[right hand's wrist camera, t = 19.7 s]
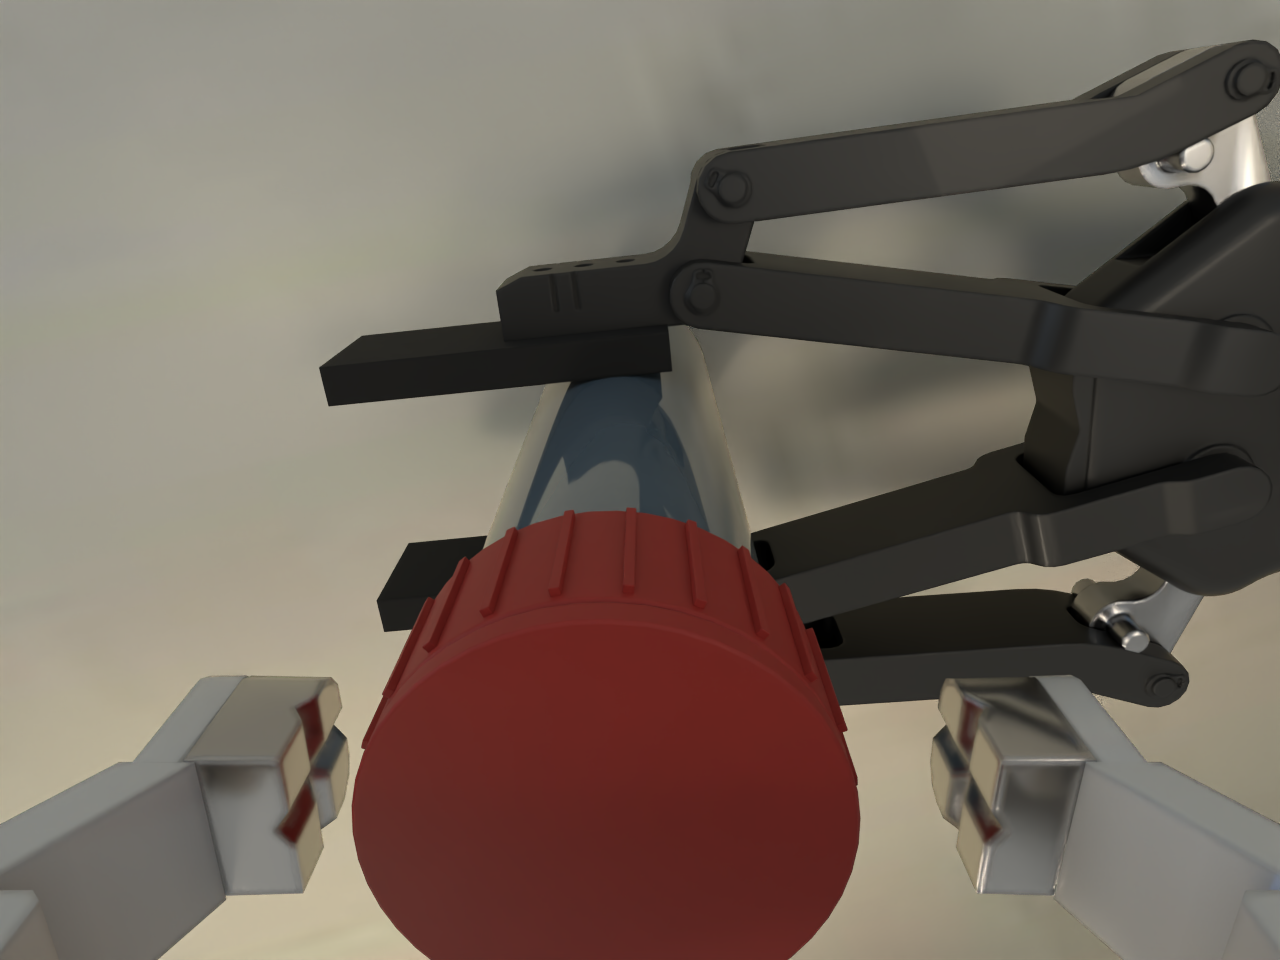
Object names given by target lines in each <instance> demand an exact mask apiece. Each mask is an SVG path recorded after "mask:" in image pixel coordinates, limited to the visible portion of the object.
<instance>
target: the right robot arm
mask: <svg viewBox="0 0 1280 960" xmlns="http://www.w3.org/2000/svg"><path fill="white" fill-rule="evenodd" d="M341 709H342V703H341V698H340V693H339V688H338V684H337V683H336V682H335V681H334V680H333V679H332V678H331V677H291V676H250V677H248V676H245V675H231V676H208V677H205V678H202V679H200V680H199V681H198V682H197V683H196V684H195V686H194V687H193V688H192V689H191V690H190V692H189V693H188V694H187V695H186V697H185V698H184V699H183V700H182V702H181V703H180V704H179V705H178V706H177V708H176V709H175V710H174V711H173V713H172V714H171V715H170V716H169V718H168V719H167V720H166V721H165V723H164V724H163V725H162V726H161V727H160V729H159V730H158V731H157V732H156V734H155V735H154V736H153V737H152V739H151V740H150V741H149V742H148V743H147V745H146V746H145V747H144V748H143V750H142V751H141V752H140V753H139V755H138V756H137V757H136V758H135V760H134V761H133V762H118V763H116V764H115V765H113V766H111V767H109V768H107V769H105V770H103V771H101V772H99V773H97V774H95V775H93V776H92V777H90V778H88V779H86V780H84V781H82V782H80V783H78V784H76V785H74V786H72V787H71V788H69V789H67V790H65V791H63V792H61V793H59V794H57V795H55V796H53V797H51V798H49V799H48V800H46V801H44V802H42V803H40V804H38V805H36V806H34V807H32V808H30V809H28V810H26V811H25V812H23V813H21V814H19V815H17V816H15V817H13V818H11V819H9V820H7V821H5V822H4V823H2V824H0V960H158V959H159V958H160V957H161V956H162V955H163V954H165V953H166V952H167V951H168V950H169V949H170V948H171V947H173V946H174V945H175V944H176V943H177V942H178V941H179V940H181V939H182V938H183V937H184V936H185V935H186V934H187V933H189V932H190V931H191V930H192V929H193V928H194V927H195V926H197V925H198V924H199V923H200V922H201V921H202V920H203V919H205V918H206V917H207V916H208V915H209V914H210V913H211V912H213V911H214V910H215V909H216V908H217V907H218V906H219V905H221V904H222V903H223V902H224V901H225V900H226V896H225V895H260V894H294V893H304V890H305V888H306V886H307V884H308V882H309V879H310V877H311V875H312V873H313V870H314V868H315V866H316V864H317V861H318V859H319V857H320V855H321V853H322V850H323V848H324V845H323V839H322V833H321V829H322V828H324V827H325V826H327V825H328V824H329V823H331V822H332V821H333V820H335V819H336V818H337V816H338V814H339V811H340V809H341V806H342V804H343V802H344V799H345V794H346V789H347V784H348V778H349V749H348V742H347V738H346V737H345V736H344V735H343V733H342V732H341V731H340V730H339V729H338V728H337V727H336V726H335V725H334V723H335V721H336V719H337V717H338V715H339V713H340V711H341ZM938 709H939V711H940V713H941V715H942V717H943V719H944V721H945V723H946V725H945V726H944V727H943V728H942V729H941V730H940V731H939V732H938V733H937V734H936V736H935V737H934V738H933V743H932V751H931V760H930V764H931V777H932V786H933V790H934V794H935V798H936V802H937V804H938V807H939V809H940V811H941V814H942V816H943V818H944V819H945V820H947V821H948V822H949V823H951V824H952V825H953V826H955V827H956V828H958V829H959V832H958V839H957V845H956V848H957V850H958V853H959V855H960V857H961V859H962V861H963V864H964V866H965V868H966V870H967V873H968V875H969V877H970V879H971V881H972V884H973V886H974V888H975V890H976V892H977V893H983V894H1019V895H1054V900H1055V901H1056V902H1058V903H1059V904H1060V905H1061V906H1062V907H1063V908H1064V909H1066V910H1067V911H1068V912H1069V913H1070V914H1071V915H1072V916H1074V917H1075V918H1076V919H1077V920H1078V921H1079V922H1080V923H1081V924H1083V925H1084V926H1085V927H1086V928H1087V929H1088V930H1089V931H1091V932H1092V933H1093V934H1094V935H1095V936H1096V937H1097V938H1099V939H1100V940H1101V941H1102V942H1103V943H1104V944H1105V945H1107V946H1108V947H1109V948H1110V949H1111V950H1112V951H1113V952H1115V953H1116V954H1117V955H1118V956H1119V957H1120V958H1121V959H1123V960H1280V824H1278V823H1276V822H1274V821H1272V820H1270V819H1269V818H1267V817H1265V816H1263V815H1261V814H1259V813H1257V812H1255V811H1253V810H1251V809H1249V808H1248V807H1246V806H1244V805H1242V804H1240V803H1238V802H1236V801H1234V800H1232V799H1230V798H1228V797H1227V796H1225V795H1223V794H1221V793H1219V792H1217V791H1215V790H1213V789H1211V788H1209V787H1207V786H1206V785H1204V784H1202V783H1200V782H1198V781H1196V780H1194V779H1192V778H1190V777H1188V776H1186V775H1185V774H1183V773H1181V772H1179V771H1177V770H1175V769H1173V768H1171V767H1169V766H1167V765H1165V764H1164V763H1162V762H1147V761H1146V760H1145V758H1144V757H1143V756H1142V755H1141V753H1140V752H1139V751H1138V750H1137V749H1136V747H1135V746H1134V745H1133V744H1132V742H1131V741H1130V740H1129V739H1128V737H1127V736H1126V735H1125V734H1124V733H1123V731H1122V730H1121V729H1120V728H1119V726H1118V725H1117V724H1116V723H1115V721H1114V720H1113V719H1112V718H1111V717H1110V715H1109V714H1108V713H1107V712H1106V710H1105V709H1104V708H1103V707H1102V705H1101V704H1100V703H1099V702H1098V701H1097V699H1096V698H1095V697H1094V696H1093V694H1092V693H1091V692H1090V691H1089V689H1088V688H1087V687H1086V686H1085V685H1084V683H1083V682H1082V681H1081V680H1080V679H1078V678H1076V677H1074V676H1072V675H1053V676H1029V677H1007V678H946V679H945V681H944V683H943V686H942V688H941V691H940V697H939V703H938Z"/></svg>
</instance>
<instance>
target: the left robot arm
mask: <svg viewBox="0 0 1280 960" xmlns="http://www.w3.org/2000/svg"><path fill="white" fill-rule="evenodd" d="M1279 88H1280V54H1279V52H1278V49H1277V48H1275V47H1274V46H1272V45H1271V44H1270V43H1268V42H1267V41H1259V40H1247V41H1240V42H1234V43H1227V44H1220V45H1213V46H1206V47H1200V48H1193V49H1186V50H1180V51H1173V52H1168V53H1165V54H1161V55H1158V56H1156V57H1154V58H1152V59H1150V60H1148V61H1146V62H1144V63H1142V64H1140V65H1139V66H1137V67H1135V68H1133V69H1131V70H1129V71H1127V72H1125V73H1123V74H1121V75H1119V76H1117V77H1115V78H1113V79H1111V80H1109V81H1108V82H1106V83H1104V84H1102V85H1100V86H1098V87H1096V88H1094V89H1092V90H1090V91H1088V92H1086V93H1084V94H1082V95H1080V96H1078V97H1077V98H1075V99H1073V100H1068V101H1060V102H1053V103H1046V104H1039V105H1032V106H1024V107H1017V108H1010V109H1003V110H995V111H988V112H981V113H974V114H967V115H959V116H952V117H945V118H938V119H930V120H923V121H916V122H909V123H902V124H894V125H887V126H880V127H873V128H865V129H858V130H851V131H844V132H836V133H829V134H822V135H815V136H808V137H800V138H793V139H786V140H779V141H771V142H764V143H757V144H750V145H743V146H735V147H728V148H721V149H716V150H713V151H710V152H708V153H705V154H704V155H703V156H702V157H701V158H700V159H699V160H698V161H697V162H696V164H695V166H694V168H693V170H692V172H691V182H690V186H689V190H688V194H687V198H686V202H685V206H684V210H683V214H682V218H681V221H680V224H679V227H678V230H677V232H676V234H675V235H674V237H673V238H672V239H671V241H670V242H669V243H667V244H666V245H665V246H664V247H663V248H661V249H659V250H657V251H655V252H651V253H647V254H640V255H631V256H622V257H612V258H603V259H594V260H584V261H578V262H576V261H575V262H566V263H559V264H547V265H538V266H529V267H527V268H526V269H524V270H522V271H520V272H518V273H517V274H515V275H513V276H511V277H509V278H507V279H506V280H505V281H504V282H503V284H502V285H501V286H500V287H499V288H498V289H497V290H496V295H497V301H498V307H499V313H500V319H501V321H499V322H489V323H480V324H470V325H461V326H451V327H442V328H432V329H423V330H413V331H403V332H394V333H384V334H375V335H365V336H361V337H360V338H358V339H357V340H356V341H354V342H353V343H352V344H350V345H349V346H348V347H346V348H345V349H344V350H342V351H341V352H340V353H338V354H337V355H335V356H334V357H333V358H331V359H330V360H329V361H327V362H326V363H325V364H323V365H322V366H321V367H319V369H320V373H321V377H322V381H323V386H324V390H325V394H326V398H327V402H328V406H337V405H347V404H356V403H366V402H376V401H386V400H396V399H406V398H415V397H425V396H435V395H445V394H455V393H465V392H474V391H484V390H494V389H504V388H514V387H524V386H533V385H543V384H553V383H563V382H573V381H583V380H593V379H602V378H610V377H622V376H632V375H642V374H652V373H661V372H671V371H672V362H671V351H670V340H669V330H668V327H669V326H679V325H688V326H692V327H695V328H698V329H706V330H715V331H725V332H734V333H743V334H752V335H761V336H770V337H779V338H788V339H797V340H806V341H815V342H825V343H834V344H843V345H852V346H861V347H870V348H879V349H888V350H897V351H906V352H916V353H925V354H934V355H943V356H952V357H961V358H970V359H979V360H988V361H997V362H1007V363H1016V364H1022V365H1027V366H1029V368H1030V372H1031V377H1032V381H1033V386H1034V390H1035V395H1036V405H1035V408H1034V411H1033V414H1032V417H1031V420H1030V423H1029V426H1028V428H1027V431H1026V434H1025V442H1024V443H1021V444H1017V445H1014V446H1011V447H1007V448H1004V449H1000V450H997V451H994V452H990V453H988V454H985V455H983V456H981V457H980V458H979V459H977V461H976V463H975V464H974V466H973V467H971V468H969V469H967V470H964V471H960V472H957V473H953V474H950V475H947V476H943V477H940V478H936V479H933V480H930V481H926V482H923V483H919V484H916V485H913V486H909V487H906V488H903V489H899V490H896V491H892V492H889V493H886V494H882V495H879V496H875V497H872V498H869V499H865V500H862V501H858V502H855V503H852V504H848V505H845V506H842V507H838V508H835V509H831V510H828V511H825V512H821V513H818V514H814V515H811V516H808V517H804V518H801V519H798V520H794V521H791V522H787V523H784V524H781V525H777V526H774V527H770V528H767V529H764V530H760V531H757V532H753V533H751V535H752V538H753V542H754V546H755V550H756V553H757V557H758V561H759V565H760V566H761V567H762V568H764V569H765V570H766V571H767V572H768V573H769V574H770V575H771V576H772V578H773V579H774V580H775V581H776V582H777V583H778V584H779V586H780V585H782V584H783V583H786V585H787V586H788V587H789V588H790V591H791V595H792V598H793V601H794V604H795V607H796V610H797V611H798V613H799V616H800V618H801V620H802V622H803V624H804V627H805V629H809V628H813V630H814V633H815V635H816V638H817V641H818V644H819V647H820V650H821V653H822V656H823V659H824V662H825V665H826V668H827V671H828V674H829V677H830V679H831V682H832V685H833V688H834V691H835V694H836V697H837V700H838V703H839V706H841V705H856V704H872V703H887V702H902V701H917V700H932V699H939V697H940V691H941V688H942V686H943V683H944V681H945V679H946V678H1007V677H1029V676H1053V675H1072V676H1074V677H1076V678H1078V679H1080V680H1081V681H1082V682H1083V683H1084V685H1085V686H1086V687H1087V688H1088V689H1089V691H1090V692H1091V693H1094V694H1098V695H1102V696H1106V697H1110V698H1114V699H1118V700H1123V701H1127V702H1131V703H1135V704H1139V705H1143V706H1147V707H1162V706H1166V705H1169V704H1171V703H1173V702H1174V701H1176V700H1178V699H1179V698H1180V697H1181V696H1182V695H1183V694H1184V692H1185V691H1186V689H1187V687H1188V684H1189V675H1188V672H1187V671H1186V669H1185V668H1184V667H1183V665H1182V664H1180V663H1179V662H1178V661H1177V660H1176V659H1175V658H1174V657H1173V656H1172V655H1171V651H1172V649H1173V648H1174V646H1175V644H1176V643H1177V641H1178V639H1179V638H1180V636H1181V634H1182V632H1183V631H1184V629H1185V627H1186V626H1187V624H1188V622H1189V620H1190V619H1191V617H1192V615H1193V614H1194V612H1195V610H1196V609H1197V607H1198V605H1199V603H1200V602H1201V600H1202V598H1203V597H1204V596H1219V595H1225V594H1229V593H1233V592H1235V591H1238V590H1240V589H1242V588H1244V587H1246V586H1248V585H1250V584H1252V583H1253V582H1255V581H1257V580H1259V579H1261V578H1263V577H1266V576H1268V575H1271V574H1273V573H1276V572H1279V571H1280V181H1273V182H1271V178H1270V173H1269V169H1268V165H1267V161H1266V156H1265V152H1264V148H1263V144H1262V140H1261V135H1260V131H1259V127H1258V123H1257V118H1256V113H1258V112H1259V111H1261V110H1262V109H1263V108H1265V107H1266V106H1267V105H1268V104H1269V103H1270V102H1271V100H1272V99H1273V98H1274V96H1275V95H1276V94H1277V93H1278V91H1279ZM1114 172H1118V175H1119V176H1120V177H1121V178H1122V179H1123V180H1124V181H1125V182H1127V183H1129V184H1131V185H1134V186H1143V187H1152V188H1162V189H1171V188H1176V187H1179V188H1180V189H1181V190H1182V191H1183V192H1184V193H1185V195H1186V197H1187V200H1186V201H1185V202H1184V203H1182V204H1181V205H1180V206H1179V207H1177V208H1176V209H1175V210H1173V211H1172V212H1171V213H1170V214H1168V215H1167V216H1166V217H1164V218H1163V219H1162V220H1160V221H1159V222H1158V223H1157V224H1155V225H1154V226H1153V227H1151V228H1150V229H1149V230H1148V231H1146V232H1145V233H1144V234H1142V235H1141V236H1140V237H1139V238H1137V239H1136V240H1135V241H1133V242H1132V243H1131V244H1130V245H1128V246H1127V247H1126V248H1124V249H1123V250H1122V251H1121V252H1119V253H1118V254H1117V255H1115V256H1114V257H1113V258H1112V259H1110V260H1109V261H1108V262H1106V263H1105V264H1104V265H1103V266H1101V267H1100V268H1099V269H1097V270H1096V271H1095V272H1094V273H1092V274H1091V275H1090V276H1088V277H1087V278H1086V279H1085V280H1083V281H1082V282H1081V283H1079V284H1078V285H1077V286H1070V285H1061V284H1053V283H1044V282H1035V281H1026V280H1018V279H1008V278H996V279H985V278H976V277H967V276H959V275H950V274H941V273H932V272H924V271H915V270H906V269H897V268H888V267H880V266H871V265H862V264H853V263H845V262H836V261H827V260H818V259H809V258H801V257H792V256H783V255H774V254H766V253H757V252H748V251H746V248H747V244H748V241H749V238H750V234H751V231H752V227H753V224H754V221H762V220H769V219H777V218H784V217H792V216H799V215H807V214H814V213H821V212H829V211H836V210H844V209H851V208H859V207H866V206H874V205H881V204H888V203H896V202H903V201H911V200H918V199H926V198H933V197H941V196H948V195H956V194H963V193H970V192H978V191H985V190H993V189H1000V188H1008V187H1015V186H1023V185H1030V184H1037V183H1045V182H1052V181H1060V180H1067V179H1075V178H1082V177H1090V176H1097V175H1104V174H1109V173H1114ZM486 538H487V536H478V537H468V538H458V539H447V540H437V541H426V542H416V543H409V544H408V545H407V547H406V549H405V551H404V552H403V554H402V556H401V558H400V560H399V561H398V563H397V565H396V567H395V569H394V570H393V572H392V574H391V576H390V578H389V579H388V581H387V583H386V585H385V587H384V588H383V590H382V592H381V594H380V596H379V597H378V599H377V604H378V608H379V612H380V616H381V620H382V624H383V628H384V632H389V631H400V630H411V629H413V626H414V624H415V622H416V620H417V618H418V616H419V614H420V611H421V609H422V607H423V605H424V603H425V601H426V600H427V598H428V597H430V598H432V599H434V600H435V598H436V597H437V595H438V594H439V593H440V591H441V590H442V588H443V587H444V585H445V584H446V583H447V582H448V581H449V580H450V578H451V577H452V576H453V574H454V572H455V569H456V567H457V565H458V563H459V561H460V560H461V559H462V558H464V557H466V558H467V559H468V560H470V559H471V558H473V557H474V556H475V555H477V554H478V553H479V552H480V551H482V549H483V546H484V543H485V541H486ZM1114 551H1115V552H1116V553H1118V554H1120V555H1122V556H1123V557H1125V558H1127V559H1128V560H1130V561H1132V562H1133V563H1135V564H1137V565H1139V566H1140V568H1139V569H1138V571H1136V572H1135V573H1134V574H1133V575H1132V576H1130V577H1128V578H1126V579H1124V580H1120V581H1116V582H1097V583H1095V582H1094V581H1093V580H1091V579H1082V580H1080V581H1078V582H1077V583H1076V584H1075V585H1074V586H1073V588H1072V594H1070V593H1065V592H1060V591H1054V590H1043V589H1013V590H998V591H984V592H970V593H955V594H941V595H927V596H912V597H902V596H905V595H909V594H912V593H916V592H919V591H923V590H927V589H930V588H934V587H937V586H941V585H944V584H948V583H951V582H955V581H959V580H962V579H966V578H969V577H973V576H976V575H980V574H984V573H987V572H991V571H994V570H998V569H1001V568H1005V567H1008V566H1012V565H1016V564H1021V563H1031V564H1035V565H1039V566H1043V567H1057V566H1063V565H1067V564H1071V563H1074V562H1078V561H1081V560H1085V559H1089V558H1092V557H1096V556H1099V555H1103V554H1107V553H1110V552H1114Z"/></svg>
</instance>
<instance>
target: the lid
mask: <svg viewBox="0 0 1280 960" xmlns="http://www.w3.org/2000/svg"><path fill="white" fill-rule="evenodd" d="M382 695H383V698H382V700H381V702H380V704H379V706H378V708H377V711H376V713H375V715H374V717H373V719H372V721H371V724H370V726H369V728H368V730H367V732H366V734H365V737H364V739H363V742H362V746H361V748H363V749H365V751H364V753H363V756H362V759H361V762H360V766H359V769H358V772H357V775H356V779H355V785H354V792H353V800H352V826H353V836H354V841H355V846H356V851H357V856H358V860H359V863H360V866H361V868H362V871H363V874H364V876H365V879H366V881H367V884H368V886H369V888H370V889H371V891H372V893H373V895H374V897H375V898H376V900H377V902H378V904H379V906H380V907H381V909H382V910H383V911H384V913H385V914H386V915H387V916H388V918H389V919H390V920H391V922H392V923H393V924H394V926H395V927H396V928H397V929H398V930H399V931H400V932H401V933H402V934H403V935H404V936H405V937H406V938H407V939H408V940H409V941H410V942H411V943H412V945H413V946H414V947H415V948H417V949H418V950H419V951H420V952H422V953H423V954H424V955H425V956H427V957H428V958H429V959H430V960H788V959H789V958H791V957H792V956H793V955H794V954H795V953H796V952H797V951H799V950H800V949H801V948H802V947H803V946H804V945H805V944H806V943H807V942H808V941H809V940H810V939H811V938H812V937H813V936H814V935H815V934H816V932H817V931H818V930H819V929H820V927H821V926H822V925H823V924H824V923H825V921H826V920H827V919H828V918H829V916H830V914H831V913H832V911H833V909H834V908H835V906H836V904H837V903H838V901H839V900H840V898H841V896H842V894H843V892H844V889H845V887H846V885H847V882H848V880H849V877H850V875H851V873H852V869H853V865H854V861H855V857H856V853H857V849H858V844H859V831H860V809H859V799H858V791H857V787H856V785H858V779H857V775H856V771H855V768H854V765H853V762H852V759H851V756H850V753H849V750H848V747H847V744H846V741H845V738H844V735H843V732H845V731H847V726H846V724H845V721H844V718H843V715H842V712H841V709H840V706H839V703H838V700H837V697H836V694H835V691H834V688H833V685H832V682H831V679H830V677H829V674H828V671H827V668H826V665H825V662H824V659H823V656H822V653H821V650H820V647H819V644H818V641H817V638H816V635H815V633H814V630H813V628H809V629H805V627H804V624H803V622H802V620H801V618H800V616H799V613H798V611H797V610H796V607H795V604H794V601H793V598H792V595H791V591H790V588H789V587H788V586H787V585H786V583H783V584H782V585H780V586H779V584H778V583H777V582H776V581H775V580H774V579H773V578H772V576H771V575H770V574H769V573H768V572H767V571H766V570H765V569H764V568H762V567H761V566H760V565H759V564H758V563H757V562H755V561H754V560H753V559H752V558H751V555H750V551H749V550H748V549H747V548H746V547H744V546H741V547H740V548H739V549H738V548H737V547H735V546H733V545H732V544H730V543H729V542H727V541H726V540H724V539H722V538H720V537H718V536H716V535H714V534H712V533H710V532H707V531H705V530H703V529H701V528H699V527H697V522H695V521H692V520H689V519H688V520H687V522H686V523H684V522H681V521H678V520H675V519H671V518H667V517H662V516H657V515H652V514H647V513H639V512H636V508H628V507H627V508H626V511H592V512H583V513H577V514H575V513H574V510H568V511H564V516H559V517H555V518H552V519H548V520H545V521H541V522H538V523H534V524H531V525H529V526H527V527H524V528H522V529H520V530H517V529H516V528H515V527H512V528H510V529H508V530H507V531H506V533H505V536H504V537H503V538H501V539H499V540H498V541H496V542H494V543H493V544H491V545H489V546H487V547H486V548H484V549H483V550H482V551H480V552H479V553H478V554H477V555H475V556H474V557H473V558H471V559H470V560H468V559H467V558H466V557H464V558H462V559H461V560H460V561H459V563H458V565H457V567H456V569H455V572H454V574H453V576H452V577H451V578H450V580H449V581H448V582H447V583H446V584H445V585H444V587H443V588H442V590H441V591H440V593H439V594H438V595H437V597H436V598H435V600H434V599H432V598H430V597H428V598H427V600H426V601H425V603H424V605H423V607H422V609H421V611H420V614H419V616H418V618H417V620H416V622H415V624H414V626H413V629H412V631H411V633H410V635H409V637H408V639H407V642H406V644H405V646H404V648H403V650H402V652H401V654H400V657H399V659H398V661H397V663H396V665H395V667H394V670H393V672H392V674H391V676H390V678H389V680H388V682H387V685H386V687H385V689H384V691H383V693H382Z"/></svg>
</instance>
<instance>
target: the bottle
mask: <svg viewBox="0 0 1280 960" xmlns="http://www.w3.org/2000/svg"><path fill="white" fill-rule="evenodd" d="M668 330H669V340H670V351H671V362H672V371H671V372H661V373H652V374H642V375H632V376H622V377H610V378H602V379H593V380H583V381H573V382H563V383H553V384H546V386H545V388H544V391H543V393H542V396H541V398H540V401H539V404H538V406H537V409H536V411H535V414H534V417H533V419H532V422H531V424H530V427H529V430H528V432H527V435H526V437H525V440H524V442H523V445H522V448H521V450H520V453H519V455H518V458H517V461H516V463H515V466H514V468H513V471H512V474H511V476H510V479H509V481H508V484H507V486H506V489H505V492H504V494H503V497H502V499H501V502H500V505H499V507H498V510H497V512H496V515H495V518H494V520H493V523H492V525H491V528H490V530H489V533H488V536H487V538H486V541H485V543H484V546H483V549H484V548H486V547H487V546H489V545H491V544H493V543H494V542H496V541H498V540H499V539H501V538H503V537H504V536H505V533H506V531H507V530H508V529H510V528H512V527H515V528H516V529H517V530H520V529H522V528H524V527H527V526H529V525H531V524H534V523H538V522H541V521H545V520H548V519H552V518H555V517H559V516H564V511H568V510H574V513H575V514H577V513H583V512H592V511H626V508H627V507H628V508H636V512H639V513H647V514H652V515H657V516H662V517H667V518H671V519H675V520H678V521H681V522H684V523H686V522H687V520H688V519H689V520H692V521H695V522H697V527H699V528H701V529H703V530H705V531H707V532H710V533H712V534H714V535H716V536H718V537H720V538H722V539H724V540H726V541H727V542H729V543H730V544H732V545H733V546H735V547H737V548H738V549H739V548H740V547H741V546H744V547H746V548H747V549H748V550H749V551H750V555H751V558H752V559H753V560H754V561H755V562H757V563H758V564H759V561H758V557H757V553H756V550H755V546H754V542H753V538H752V535H751V531H750V527H749V523H748V520H747V516H746V512H745V508H744V505H743V501H742V497H741V493H740V490H739V486H738V482H737V478H736V475H735V471H734V467H733V463H732V460H731V456H730V452H729V448H728V445H727V441H726V437H725V433H724V430H723V426H722V422H721V418H720V415H719V411H718V407H717V403H716V400H715V396H714V392H713V388H712V385H711V381H710V377H709V373H708V370H707V366H706V362H705V358H704V355H703V352H702V349H701V347H700V345H699V343H698V341H697V339H696V338H695V336H694V335H693V333H692V332H691V330H690V329H689V328H688V327H687V326H686V325H679V326H669V327H668ZM483 549H482V550H483Z"/></svg>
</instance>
